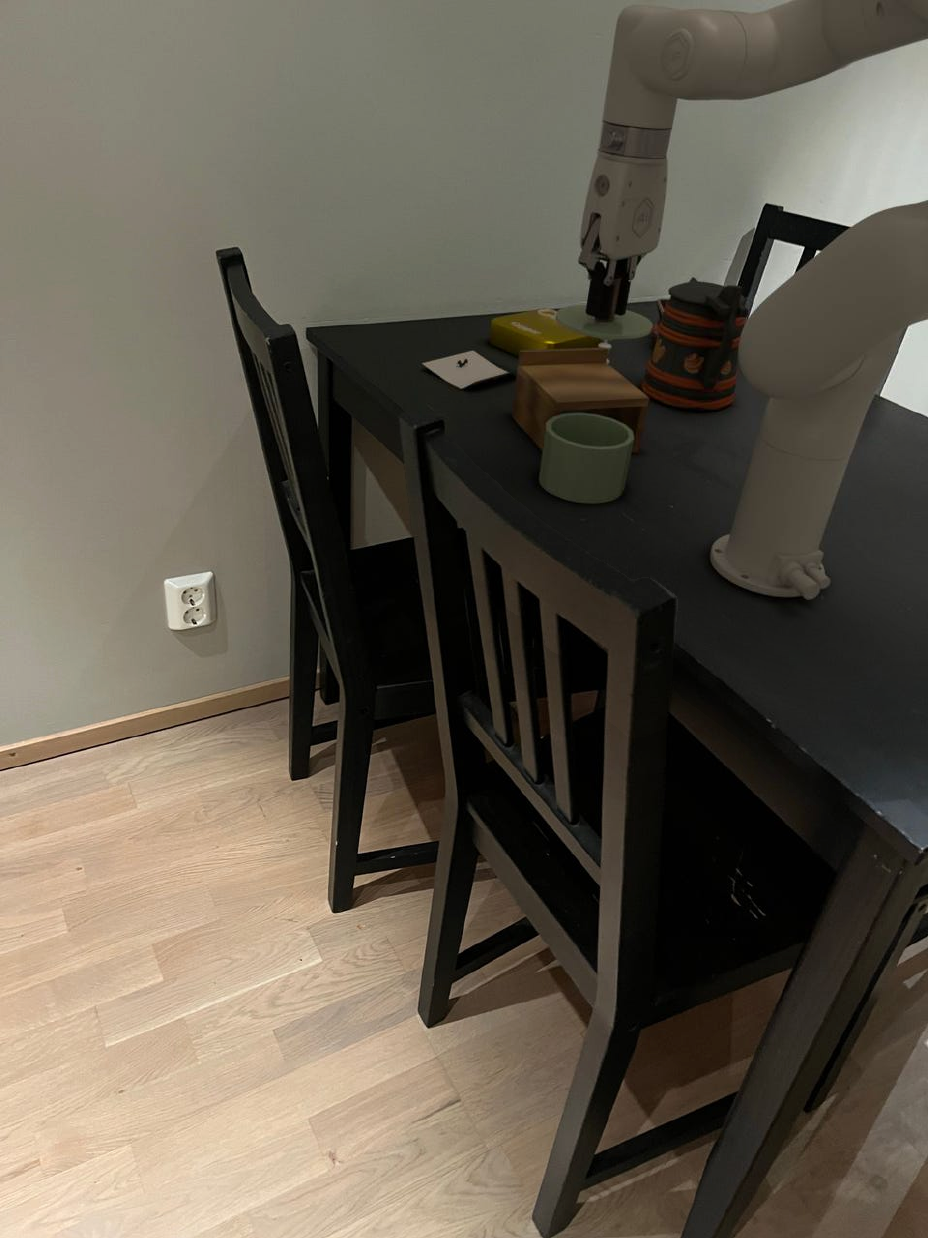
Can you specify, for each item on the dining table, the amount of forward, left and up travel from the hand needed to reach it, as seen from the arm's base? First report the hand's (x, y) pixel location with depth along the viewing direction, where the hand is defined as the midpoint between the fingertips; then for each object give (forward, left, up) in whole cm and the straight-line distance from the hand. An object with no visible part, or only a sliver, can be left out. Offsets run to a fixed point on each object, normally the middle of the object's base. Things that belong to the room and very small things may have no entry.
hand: (605, 313), depth 109 cm
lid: (0, 0, -1) cm, 1 cm away
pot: (-3, +1, -21) cm, 21 cm away
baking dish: (+43, -41, -21) cm, 64 cm away
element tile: (+47, -14, -21) cm, 54 cm away
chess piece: (+25, -14, -21) cm, 36 cm away
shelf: (+12, -4, -21) cm, 24 cm away
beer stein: (+21, -29, -21) cm, 42 cm away
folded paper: (+36, +3, -21) cm, 42 cm away
